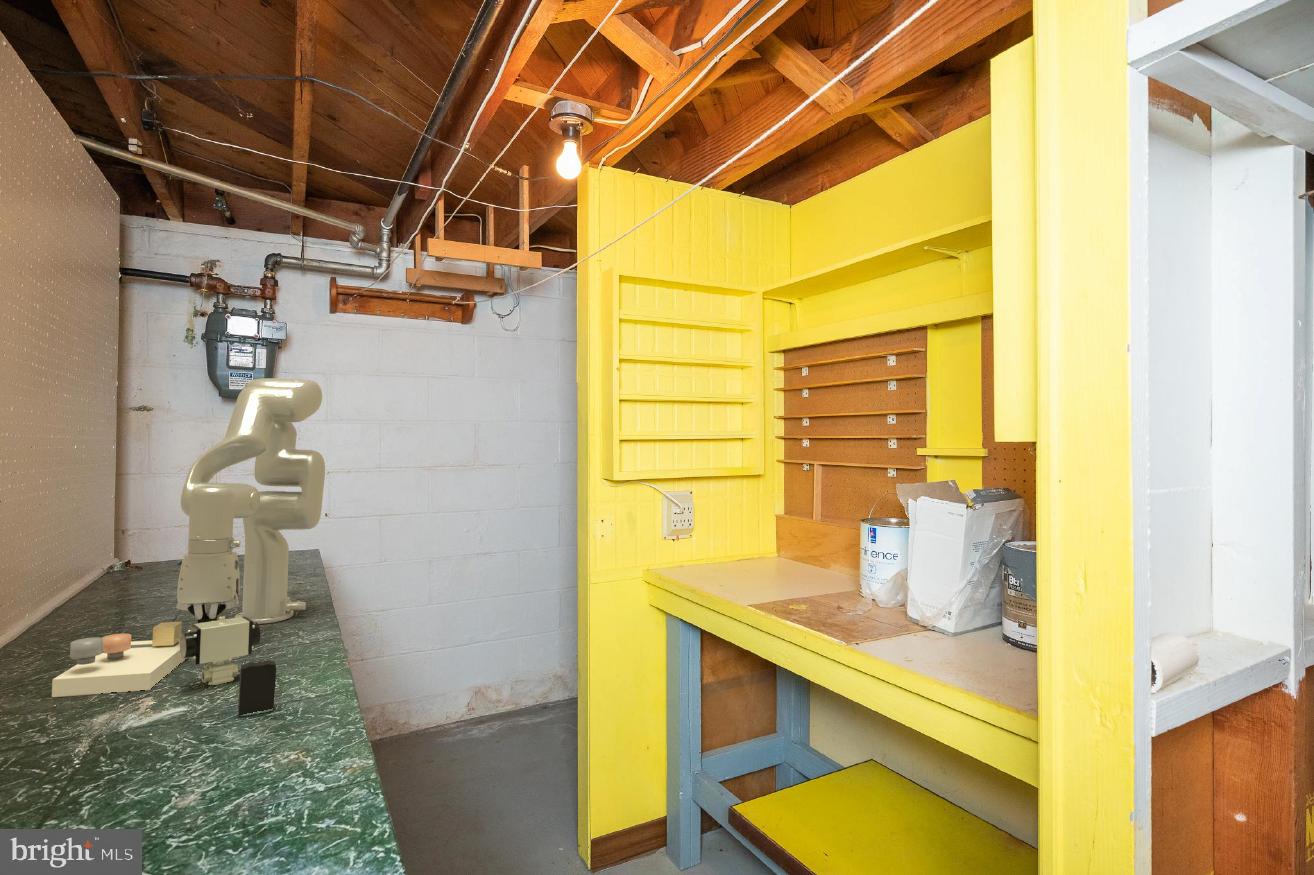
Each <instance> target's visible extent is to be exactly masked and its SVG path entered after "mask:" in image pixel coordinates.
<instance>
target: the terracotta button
mask: <svg viewBox="0 0 1314 875" xmlns="http://www.w3.org/2000/svg"><path fill="white" fill-rule="evenodd" d="M101 638H103V653H107V659H118V658H122V657H123V656H124V651H126V650H129V649H130V648H131V642H132V634H130V633H114V634H113V633H112V634H109V635H104V636H102V637H101Z"/></svg>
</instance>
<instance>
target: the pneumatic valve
mask: <svg viewBox="0 0 1314 875" xmlns="http://www.w3.org/2000/svg"><path fill="white" fill-rule="evenodd" d="M260 642H261V628H260V624H258V623H257V622H253V621H252V620H250V619H249V618H247V617H245V616H244V617H237V618H235V617H231V618H226V616H225V615H222V616H218V619H217V621H211V622H204V623H198V622H197V623H192V624H189V629H188V630H187V632H185V633H181V638H180V653H181V657H182V658H183V659H185V658H187V659H188V660H189V661H190V662H191V663H193V665H195V666H197V665H203V664H205V665H204V669H202V671H201V672H200V673H201V677H200V678H201V682H202V683H205V684H206V683H207V682H209V683H207V685H208V686H209V685H210V686H211V685H214V684H220V683H225V682H230V681H232V682H233V680H235V677H237V676H238V673H239V667H238V664H237V663H232V662H231V661H232V660H233V658H239V657H246V656H250V655H253V649H254V647H256V646H257V647H258V645H259V644H260ZM230 683H231V682H230ZM225 684H226V683H225ZM220 685H221V684H220Z"/></svg>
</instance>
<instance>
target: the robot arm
mask: <svg viewBox="0 0 1314 875" xmlns="http://www.w3.org/2000/svg"><path fill="white" fill-rule="evenodd" d="M322 401H323V391H322V389H321V386H320V385H319V383H317V382H316V381H314V380H309V379H290V378H289V379H288V378H273V377H271V378H269V377H267V378H265V377H263V378H255V379H252V380H250V381H249V382H248V383H247V384H246V386H245V388H243V389H242V390H241V391H240V392H239V394H238V396H237V398H236V401H235V405H234V408H233V411H232V413H231V417H230V420H229V423H228V426H227V429H226V432H225V436H224V438H223V439H222V440H221V441H220V442H218V443H217V444H214V446H212V447H211V448H209V449H208V450H206V451H205V452H204V453H203V454H201V455H200V457H198V458H197V459H196V460H195V461H194V462H193V464H192V465H191V466H190V468H189V471H188V472H187V475H186V479H185V481H184V484H183V487H182V491H181V495H180V508H181V510H182V512H183V513H184V514H185V515H186V516H188V537H187V540H188V543H187V553H185V554H183V558H182V561H181V565H180V568H179V575H178V581H177V589H176V591H177V592H176V599H177V600H176V601H177V603H176V606H175V608H176V609H177V610H180V611H187V612H189V613H190V614H192V615H193V616H194V617H195V619H196V620H197V623H204V622H211V621H217V620H218V617H219V615H221V613H223V611H225V610H228V609H229V610H230V609H232V608H236V607H238V606H239V605H240V601H239V598H238V597H239V595H240V591H241V579H240V578H241V577H240V574H241V573H240V564H239V557H238V552H237V551H233V550H234V549H236V548H241V540H235V538H234V536H233V534H234V533H233V531H234V529H233V528H234V519H242V523H243V530H244V558H243V560H244V563H243V586H242V588H243V589H242V612H239V613H236V614H235V615H234V618H237V617H244V616H245V617H247V618H249V619H250V620H252V621H253V622H257V623H258V624H259V625H262V624H272V623H278V622H283V621H285V620H288V619H291V618H292V617H293V616H294V611H305V610H306V609H307V608H306V607H307V602H306V601H293V600H291V596H288V578H289V556H290V555H289V551H290V550H289V544H288V541H287V540H286V538H285V536H284V535H283V534H282V532H281V531H284V530H285V531H286V530H288V531H289V530H295V531H296V530H300V531H301V530H302V531H303V530H311V529H314V528H316V527H317V526H318V524H319V522H320V519H321V515H322V508H323V498H324V489H325V488H324V487H325V480H326V478H325V476H326V462H325V460H324V457H323V455H322V454H321V453H320V452H319V451H318V450H317V451H316V450H312V449H297V448H296V445H297V436H298V434H297V429H296V427H295V425H294V424H293V423H301V422H303V421H305V420H306V419H308V418H310V417H311V416H312V415H314V414H315V413H316V412H318V410H319V409H320V407H321V405H322ZM253 458H255V460H254V468H253V469H254V470H253V472H254V479H255V481H256V482H257V483H258V484H259V485H261V486H264V487H265V486H266V487H267V486H268V487H285V488H286V487H287V488H288V487H292V488H293V487H296V488H297V487H299V488H301V491H284V490H280V491H279V490H278V491H277V490H266V491H265V490H263V491H259V490H258V489H257V488H256V487H255V486H254V485H252V484H248V483H237V482H236V483H234V482H233V483H231V482H229V483H228V482H210V481H211V480H212V479H213V478H214V476H215V475H216V474H218V473H219V472H221V471H222V470H225V469H226V468H229V467H231V466H234V465H236V464H240V463H242V462H245V461H249V460H250V459H253ZM208 604H211V605H210V609H209V614H208V613H207V606H206V605H208Z"/></svg>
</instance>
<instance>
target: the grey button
mask: <svg viewBox="0 0 1314 875" xmlns="http://www.w3.org/2000/svg"><path fill="white" fill-rule="evenodd" d="M102 653H103V638H102V637H99V636H97V637H96V636H95V637H94V636H93V637H86V638H79V639H75V640H73V641H70V651H69V654H70V655H69V658H71V659H76V660H77V663H76V665H77V664H78V665H84V664H90V663H94V662H95V656H97V655H100V654H102Z"/></svg>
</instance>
